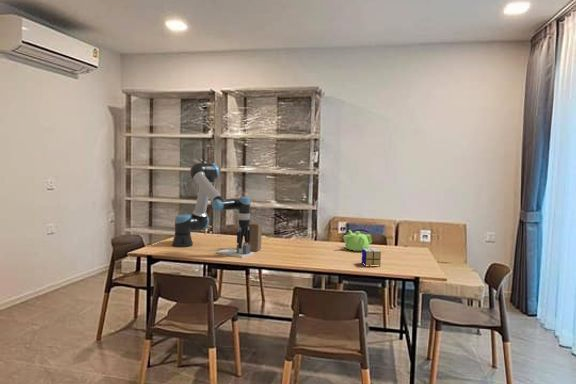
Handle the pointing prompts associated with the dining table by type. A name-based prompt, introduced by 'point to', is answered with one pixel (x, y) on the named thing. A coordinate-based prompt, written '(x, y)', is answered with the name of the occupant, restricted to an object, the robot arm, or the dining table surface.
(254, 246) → the wooden block
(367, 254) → the puzzle cube
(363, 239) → the teapot
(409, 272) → the dining table surface
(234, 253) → the board
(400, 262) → the dining table surface
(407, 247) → the dining table surface
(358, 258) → the dining table surface
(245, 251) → the sanding block
